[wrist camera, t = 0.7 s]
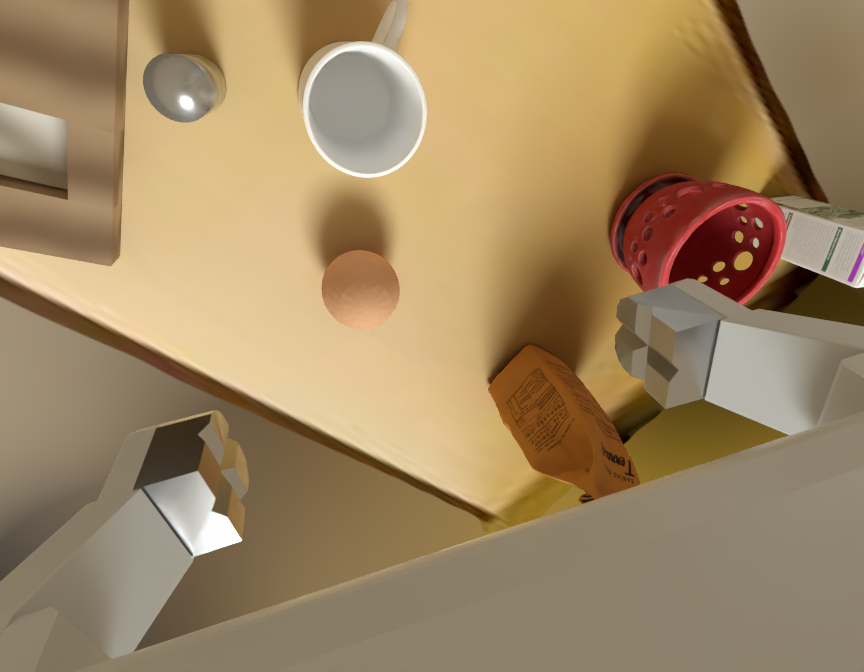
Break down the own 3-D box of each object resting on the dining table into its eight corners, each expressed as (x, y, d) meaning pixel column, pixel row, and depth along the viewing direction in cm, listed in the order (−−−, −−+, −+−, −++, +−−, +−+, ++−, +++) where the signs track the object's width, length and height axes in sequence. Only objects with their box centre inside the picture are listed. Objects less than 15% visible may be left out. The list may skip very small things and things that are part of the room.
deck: (-90, -79, 30) (-119, -90, 28) (129, -1, 34) (118, -5, 32) (-52, 223, 38) (-73, 233, 36) (119, 255, 42) (110, 266, 40)
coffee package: (530, 428, 66) (619, 571, 48) (474, 385, 60) (553, 531, 42) (584, 381, 64) (700, 511, 46) (533, 331, 58) (643, 459, 40)
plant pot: (602, 174, 50) (679, 204, 40) (711, 159, 52) (809, 183, 42) (589, 286, 57) (652, 336, 47) (686, 269, 59) (766, 312, 49)
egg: (306, 259, 47) (307, 295, 40) (372, 226, 47) (386, 257, 40) (341, 316, 51) (348, 359, 44) (403, 286, 51) (420, 324, 44)
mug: (347, -26, 36) (366, -57, 26) (436, 46, 40) (482, 42, 30) (280, 117, 40) (275, 137, 30) (368, 170, 44) (389, 204, 34)
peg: (173, 45, 36) (144, 43, 29) (229, 64, 37) (214, 66, 31) (169, 101, 38) (141, 111, 31) (223, 117, 39) (207, 130, 32)
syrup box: (740, 244, 59) (855, 292, 47) (755, 196, 56) (883, 234, 44) (778, 239, 60) (900, 285, 48) (795, 192, 57) (930, 228, 45)
